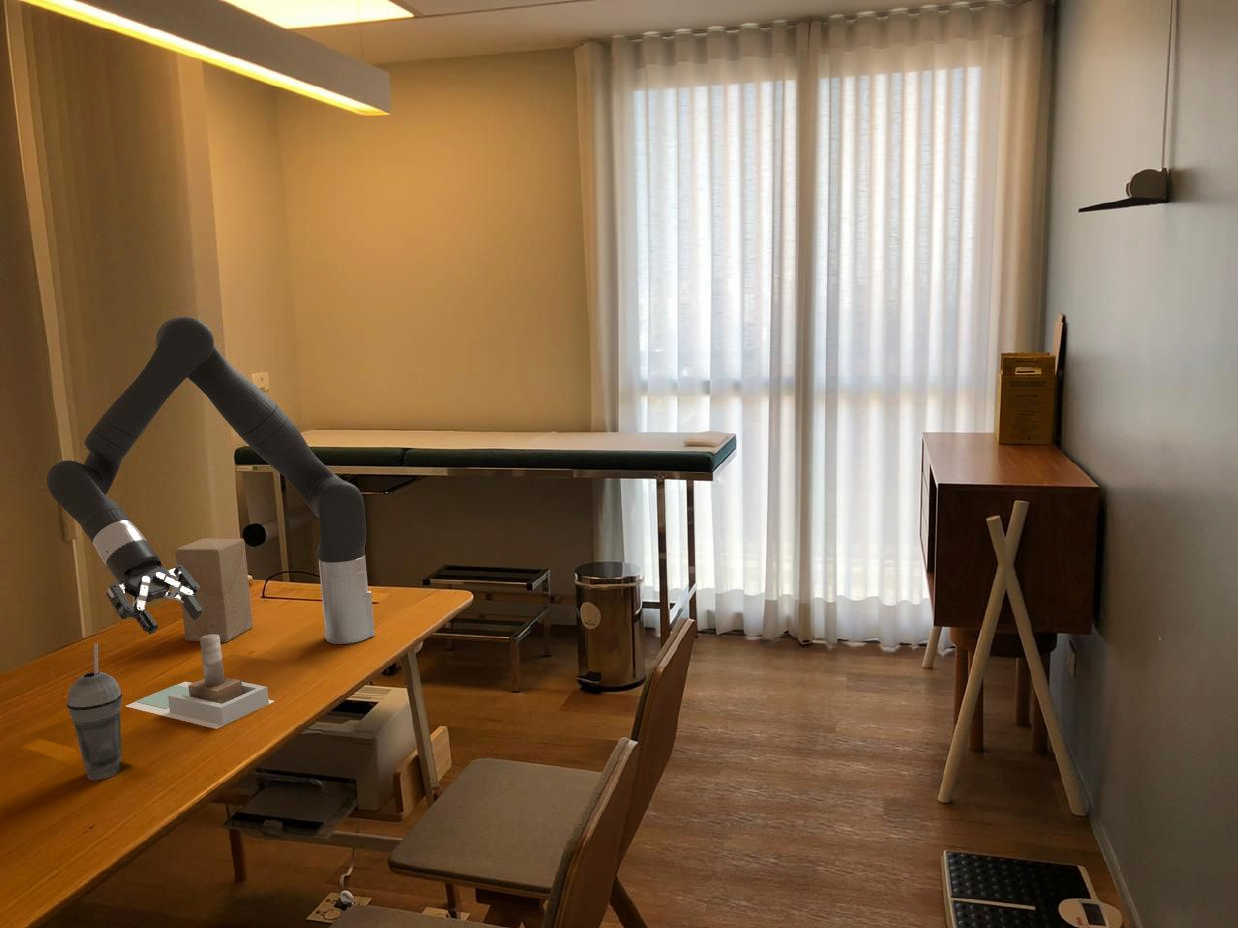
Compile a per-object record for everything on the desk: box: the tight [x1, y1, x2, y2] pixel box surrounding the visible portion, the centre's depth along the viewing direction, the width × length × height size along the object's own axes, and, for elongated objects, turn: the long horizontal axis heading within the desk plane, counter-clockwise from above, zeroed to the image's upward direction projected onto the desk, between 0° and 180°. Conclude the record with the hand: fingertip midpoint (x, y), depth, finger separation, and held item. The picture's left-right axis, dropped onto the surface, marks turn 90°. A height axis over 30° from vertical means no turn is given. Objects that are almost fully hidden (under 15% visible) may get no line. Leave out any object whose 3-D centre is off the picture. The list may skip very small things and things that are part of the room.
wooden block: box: [174, 537, 254, 643], centre depth 206 cm, size 10×10×20 cm
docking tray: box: [124, 681, 276, 730], centre depth 166 cm, size 23×12×4 cm, turn 62°
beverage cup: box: [66, 643, 123, 781], centre depth 143 cm, size 7×7×20 cm
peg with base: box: [188, 634, 243, 704], centre depth 163 cm, size 7×5×12 cm
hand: (177, 623), depth 165 cm, fingers open, 8 cm apart
